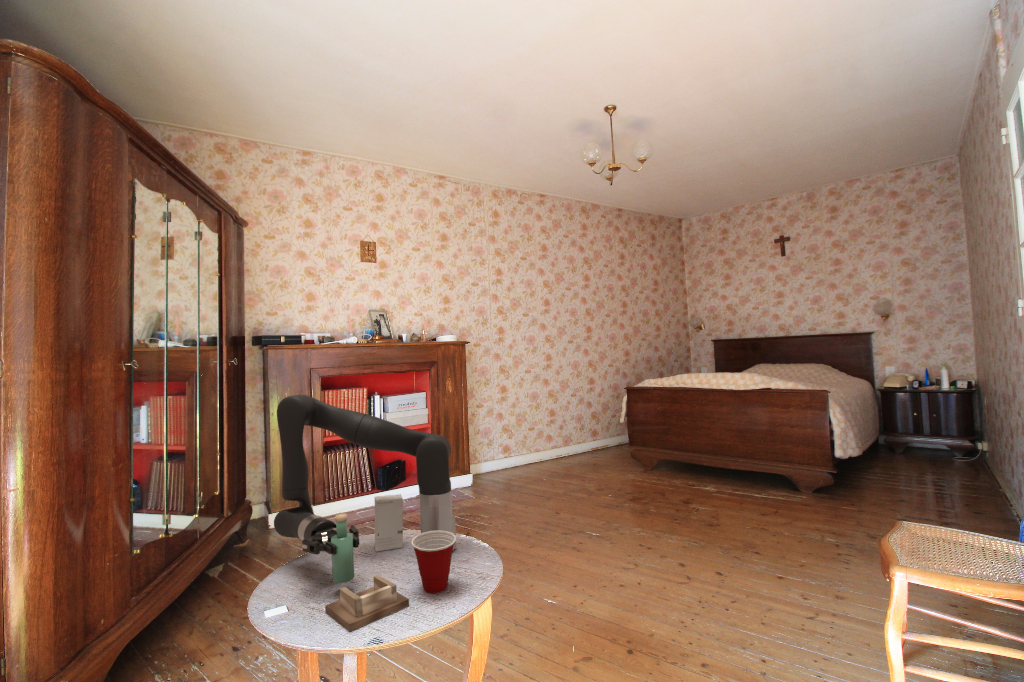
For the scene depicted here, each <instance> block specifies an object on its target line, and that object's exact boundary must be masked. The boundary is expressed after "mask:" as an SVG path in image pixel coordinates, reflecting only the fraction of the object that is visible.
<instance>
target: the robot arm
mask: <svg viewBox="0 0 1024 682" xmlns="http://www.w3.org/2000/svg"><path fill="white" fill-rule="evenodd" d="M276 408H277V409H276V419H277V426H278V431H279V432H278V433H279V439H280V449H281V460H282V463H281V464H282V470H281V471H282V472H281V473H282V476H281V479H282V481H281V497H282V499H283V500H284V501H289V502H290V501H291V502H292V501H293V502H294V501H295V502H298V504H299V505H298V506H295V507H290V508H285V509H282V510H280V511H279V512H278V513H276V515H275V516H274V520H273V527H274V530H275V532H276V533H277V534H278V535H279V536H281V537H285V538H292V539H299V540H300V541H301V550H302V552H303V553H304V552H305V553H308V554H311V555H315V556H316V555H319V554H321V552H322V553H325V554H326V553H327V554H329V555H331V556H332V555H335V554H337V551H336V545H335V544H333V543H331V537H333V536H335V535H337V531H336V522H335V521H333V520H330V519H328V518H326V517H323V516H321V515H316V514H315V511H314V509H313V506H312V502H311V499H310V493H309V473H310V472H309V464H308V460H307V457H306V453H305V449H304V439H303V438H304V429H305V426H309V427H314V428H318V429H321V430H322V429H323V430H327V431H328V432H331V433H333V434H334V435H336V436H338V437H339V438H341V439H342V440H344V441H346V442H347V443H351V444H353V445H356V446H359V447H363V448H366V449H371V450H376V451H385V452H397V453H403V454H406V455H409V456H413V457H415V464H416V465H415V467H416V479H417V481H416V482H417V485H418V490H419V491H418V493H419V496H418V497H419V521H420V522H419V523H420V525H419V526H420V534H421V533H424V532H429V531H438V530H441V531H448V532H451V533H453V534H454V535H455V536H456V537H457V533H456V530H457V529H456V516H455V515H453V504H452V503H453V501H452V481H451V478H450V465H449V463H450V462H449V458H450V456H451V454H452V446H451V444H450V442H449V440H448V439H447V438H446V437H444V436H443V435H441V434H436V433H430V432H425V431H419V430H415V429H411V428H408V427H406V426H402V425H400V424H397V423H395V422H392V421H389V420H386V419H382V418H381V417H377V416H373V415H371V414H367V413H363V412H359V411H355V410H351V409H346V408H341V407H337V406H334V405H331V404H329V403H326V402H324V401H321V400H319V399H317V398H314V397H312V396H310V395H306V394H296V395H295V394H293V395H288V396H287V397H284V398H283V399H281V400H280V402H279V403H278V405H277V406H276ZM359 532H360V531H359V530H358V528H357V527H356V526H355V525H350V526H349V528H348V529H347V533H351V534H353V549H356V548H359V546H360V538H359V537H360V535H359V534H360V533H359ZM454 549H455V550H457V541H456V542H455V543H454V546H453V551H454Z"/></svg>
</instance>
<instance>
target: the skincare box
mask: <svg viewBox="0 0 1024 682" xmlns="http://www.w3.org/2000/svg"><path fill="white" fill-rule="evenodd" d="M403 503H404V502H403V496H402V494H388V495H378V496H374V549H375V552H376V553H377V552H383V551H389V550H394V549H395V550H396V549H402V548H403V547H404V541H403V540H404V539H403V537H404V533H403V532H404V531H403V529H404V528H403V527H404V526H403V525H404V520H403V519H404V515H403V513H404V507H403Z"/></svg>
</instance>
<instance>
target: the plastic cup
mask: <svg viewBox="0 0 1024 682" xmlns="http://www.w3.org/2000/svg"><path fill="white" fill-rule="evenodd" d="M455 542H456V543H457V535H456V536H455V535H454V534H453V533H451V532H448V531H441V530H438V531H429V532H424V533H421V532H420V533H419V534H417V535H416V536H414V537H413V538H412V539H411V546H412V547H413V550H414V553H415V556H416V561H417V567H418V571H419V576H420V579H421V584H422V588H423V591H424V592H425V593H427V594H439V593H441V592H442V593H443V592H444V591H446V590H447V589H448V585H449V579H450V578H449V577H450V571H451V565H452V564H451V563H452V554H453V552H454V550H453V546H454V543H455ZM452 551H453V552H452Z"/></svg>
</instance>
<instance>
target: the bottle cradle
mask: <svg viewBox="0 0 1024 682" xmlns="http://www.w3.org/2000/svg"><path fill="white" fill-rule="evenodd" d="M372 579H373V586H372V587H369V588H367V589H365V590H361V591H359V592H356V593H354V592H353V591H351V590H350V589H348V588H347V587H345V586H344V587H342V588H341V587H340V588H339V599H337V600H336V601H334V602H331V603H328V604H326V605H324V606H325V607H324V609H325V610H324V611H325V612H324V613H326V614H327V616H329V617H330V618H332V619H333V620H334V621H335V622H337V623H338V624H339V625H341V626H342V627H343V628H344V629H345V630H347V631H348V632H352V631H355V630H357V629H359V628H362V627H364V626H366V625H369V624H371V623H373V622H376V621H378V620H380V619H383V618H384V617H388V616H389V615H391V614H394V613H396V612H398V611H401V610H403V609H405V608H408V607H410V599H409V598H408V597H406V596H404V595H402V594H401V593H399V592H397V591H398V590H397V584H395V583H393V582H392V581H390V580H388V579H387V578H385V577H383V576H381V575H379V574H377V575H374V576H373V578H372Z"/></svg>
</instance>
